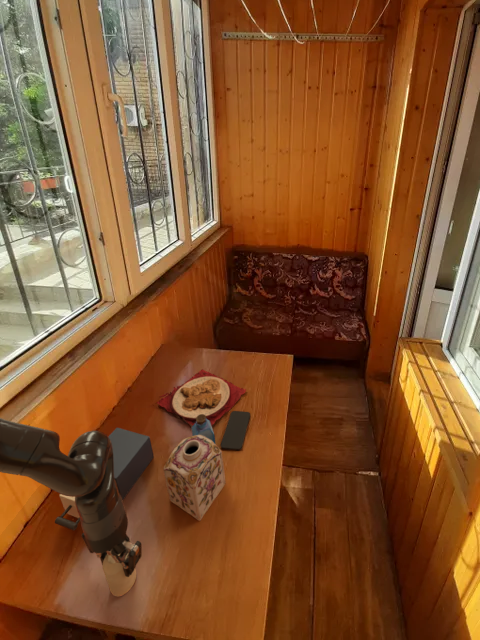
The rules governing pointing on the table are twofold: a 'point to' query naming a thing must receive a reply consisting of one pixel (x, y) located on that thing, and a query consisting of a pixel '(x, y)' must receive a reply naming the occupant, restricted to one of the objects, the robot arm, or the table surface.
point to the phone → (235, 430)
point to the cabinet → (129, 457)
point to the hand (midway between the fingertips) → (119, 566)
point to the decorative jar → (194, 475)
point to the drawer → (69, 509)
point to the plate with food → (202, 398)
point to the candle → (117, 576)
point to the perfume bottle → (203, 428)
